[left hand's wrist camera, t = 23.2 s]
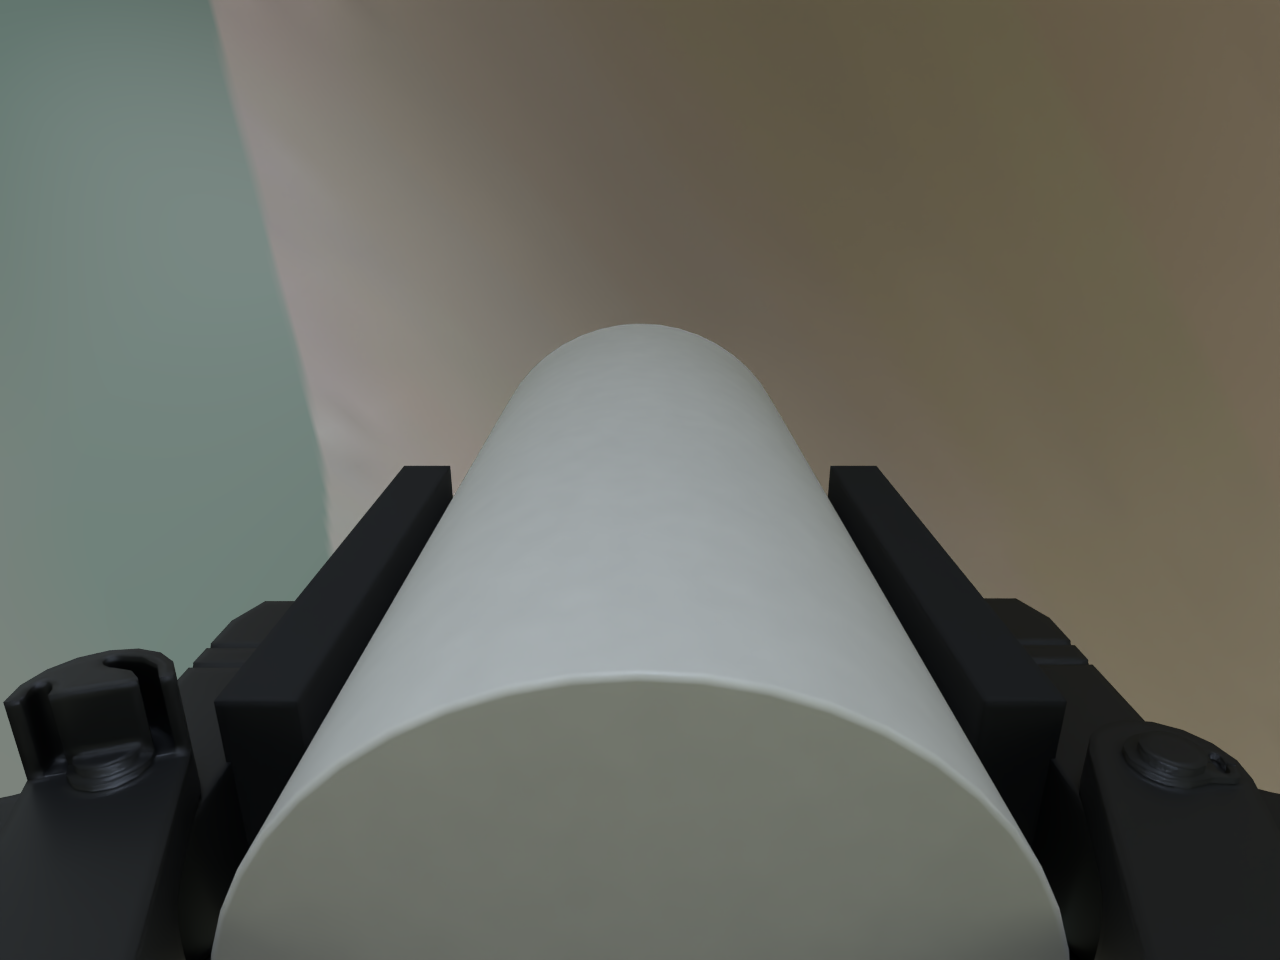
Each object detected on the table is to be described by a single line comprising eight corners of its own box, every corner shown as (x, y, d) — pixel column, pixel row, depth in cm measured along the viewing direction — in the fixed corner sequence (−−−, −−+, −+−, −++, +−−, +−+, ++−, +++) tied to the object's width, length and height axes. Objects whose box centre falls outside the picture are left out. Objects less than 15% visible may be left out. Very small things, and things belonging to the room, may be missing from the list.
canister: (468, 345, 17) (71, 736, 5) (774, 303, 17) (1096, 615, 5) (523, 613, 19) (335, 1324, 7) (795, 580, 19) (1059, 1266, 7)
